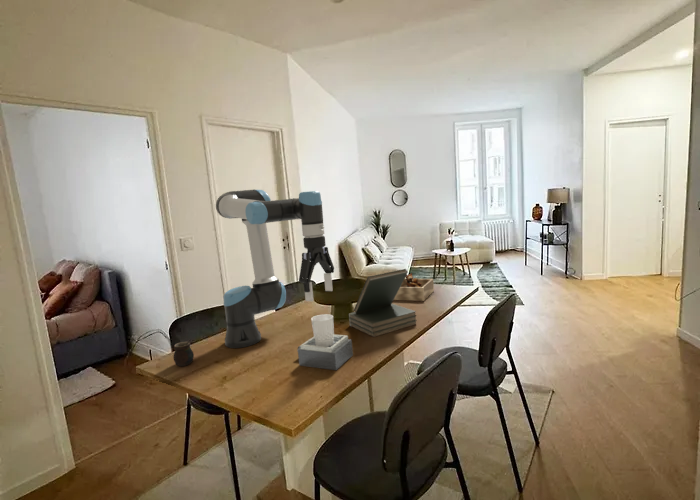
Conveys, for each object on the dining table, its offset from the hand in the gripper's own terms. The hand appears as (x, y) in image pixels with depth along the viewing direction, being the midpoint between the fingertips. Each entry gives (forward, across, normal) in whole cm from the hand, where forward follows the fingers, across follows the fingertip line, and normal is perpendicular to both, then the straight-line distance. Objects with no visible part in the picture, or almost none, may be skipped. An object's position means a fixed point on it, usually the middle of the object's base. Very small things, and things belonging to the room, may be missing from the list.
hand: (319, 295), depth 140 cm
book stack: (+25, +40, -6) cm, 47 cm away
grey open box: (+24, 0, +2) cm, 24 cm away
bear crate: (+24, +91, -3) cm, 94 cm away
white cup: (+18, 0, 0) cm, 18 cm away
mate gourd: (+25, -17, +53) cm, 61 cm away
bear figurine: (+25, +92, -5) cm, 95 cm away
